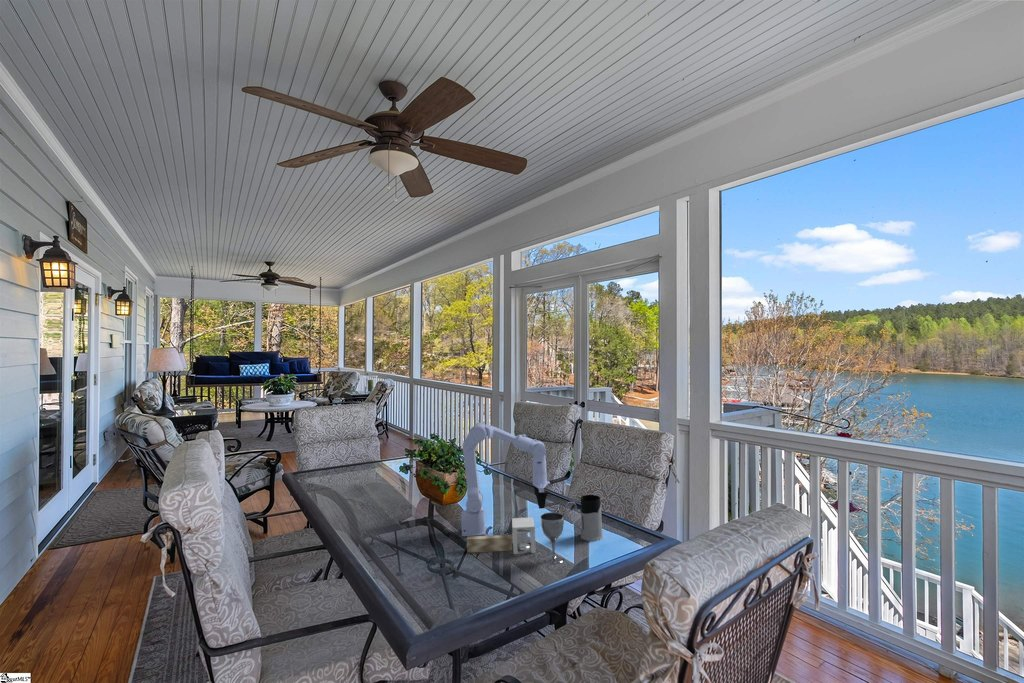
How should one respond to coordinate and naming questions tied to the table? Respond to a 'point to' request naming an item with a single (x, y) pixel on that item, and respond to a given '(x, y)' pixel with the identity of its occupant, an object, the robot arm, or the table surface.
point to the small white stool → (523, 531)
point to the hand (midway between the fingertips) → (540, 505)
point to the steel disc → (524, 547)
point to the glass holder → (590, 517)
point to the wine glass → (552, 533)
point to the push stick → (489, 543)
